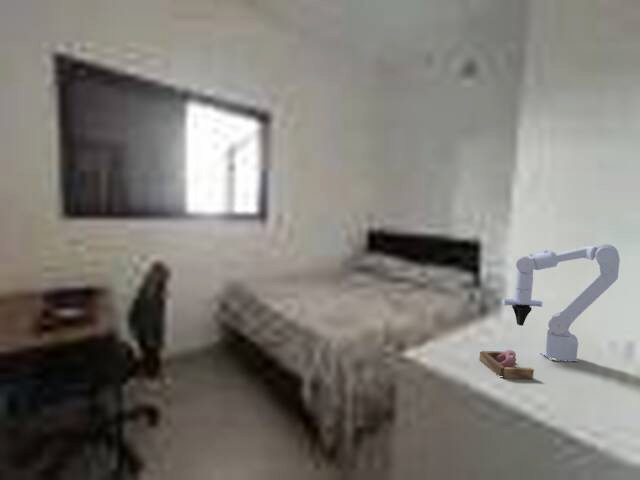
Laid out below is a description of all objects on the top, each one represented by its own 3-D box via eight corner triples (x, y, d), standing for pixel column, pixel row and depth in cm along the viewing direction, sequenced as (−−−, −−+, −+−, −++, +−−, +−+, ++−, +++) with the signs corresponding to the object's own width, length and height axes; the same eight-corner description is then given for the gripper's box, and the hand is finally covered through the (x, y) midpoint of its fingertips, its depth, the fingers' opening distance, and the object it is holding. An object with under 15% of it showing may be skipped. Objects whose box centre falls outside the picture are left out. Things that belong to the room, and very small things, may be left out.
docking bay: (506, 360, 150) (507, 351, 150) (532, 379, 134) (533, 369, 134) (478, 359, 149) (479, 350, 149) (501, 378, 133) (502, 368, 133)
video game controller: (507, 377, 138) (520, 360, 137) (494, 369, 139) (507, 352, 138) (506, 367, 147) (517, 351, 146) (493, 359, 149) (505, 343, 147)
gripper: (536, 287, 165) (532, 322, 166) (499, 285, 164) (496, 321, 165) (547, 291, 158) (543, 327, 159) (508, 289, 157) (505, 326, 158)
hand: (519, 324), depth 162 cm, fingers closed
